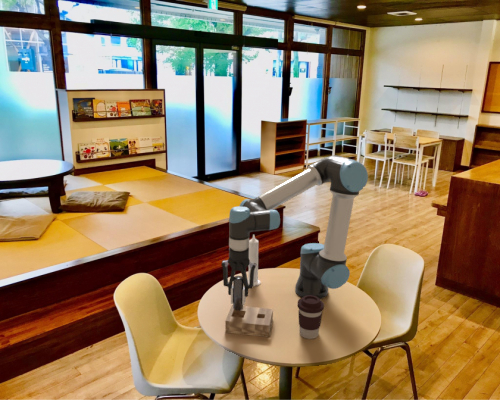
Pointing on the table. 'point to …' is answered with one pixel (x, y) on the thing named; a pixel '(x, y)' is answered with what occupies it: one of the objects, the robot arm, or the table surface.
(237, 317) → the oak block
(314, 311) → the coffee cup
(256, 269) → the candle
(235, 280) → the steel pin
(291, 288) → the table surface
